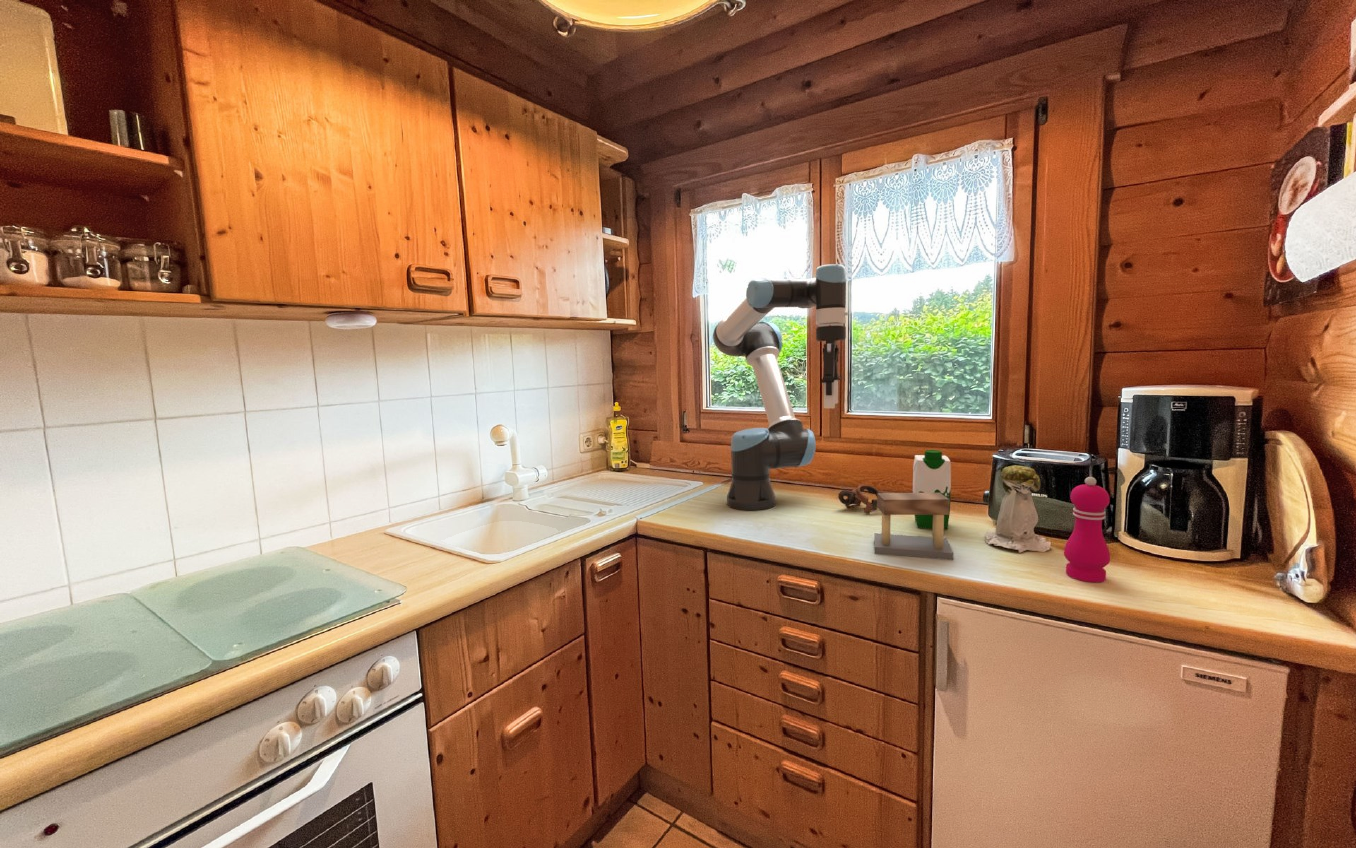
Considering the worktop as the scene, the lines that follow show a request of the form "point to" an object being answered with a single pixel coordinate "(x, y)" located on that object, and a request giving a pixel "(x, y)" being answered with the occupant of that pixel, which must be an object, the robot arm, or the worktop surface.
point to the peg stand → (914, 542)
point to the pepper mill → (1088, 534)
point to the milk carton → (931, 481)
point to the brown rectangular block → (913, 503)
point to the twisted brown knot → (859, 497)
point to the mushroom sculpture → (1018, 512)
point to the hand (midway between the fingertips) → (831, 405)
